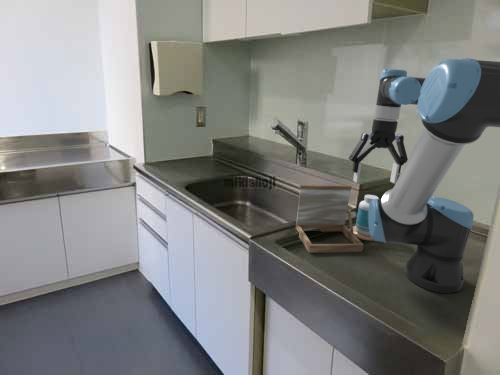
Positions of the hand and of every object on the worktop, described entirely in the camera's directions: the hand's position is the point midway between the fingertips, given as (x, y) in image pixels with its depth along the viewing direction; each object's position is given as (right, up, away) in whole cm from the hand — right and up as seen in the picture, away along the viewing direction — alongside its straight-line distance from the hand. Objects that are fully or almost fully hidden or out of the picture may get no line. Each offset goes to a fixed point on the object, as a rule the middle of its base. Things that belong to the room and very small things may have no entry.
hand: (374, 182), depth 125 cm
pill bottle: (-1, -18, +6) cm, 19 cm away
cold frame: (-16, -20, -1) cm, 26 cm away
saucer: (-1, -18, +6) cm, 20 cm away
